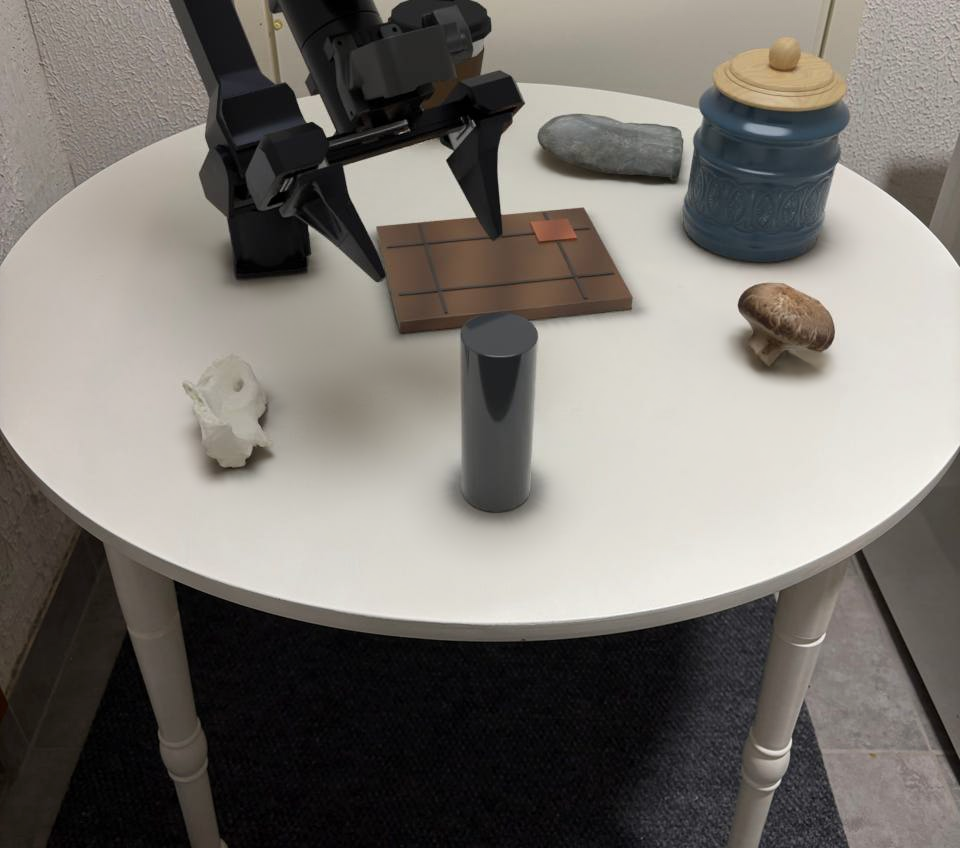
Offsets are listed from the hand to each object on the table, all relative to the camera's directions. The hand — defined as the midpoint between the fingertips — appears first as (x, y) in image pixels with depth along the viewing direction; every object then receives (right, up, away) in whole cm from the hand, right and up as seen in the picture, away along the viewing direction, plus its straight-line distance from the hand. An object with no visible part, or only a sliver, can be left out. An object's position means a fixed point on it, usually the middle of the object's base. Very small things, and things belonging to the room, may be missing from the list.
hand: (441, 258), depth 69 cm
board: (+4, +5, +25) cm, 26 cm away
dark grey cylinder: (+4, -15, +4) cm, 16 cm away
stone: (+16, +20, +41) cm, 49 cm away
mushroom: (+27, -4, +17) cm, 32 cm away
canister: (+28, +10, +31) cm, 43 cm away
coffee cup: (-2, +26, +47) cm, 54 cm away
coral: (-16, -11, +9) cm, 21 cm away
